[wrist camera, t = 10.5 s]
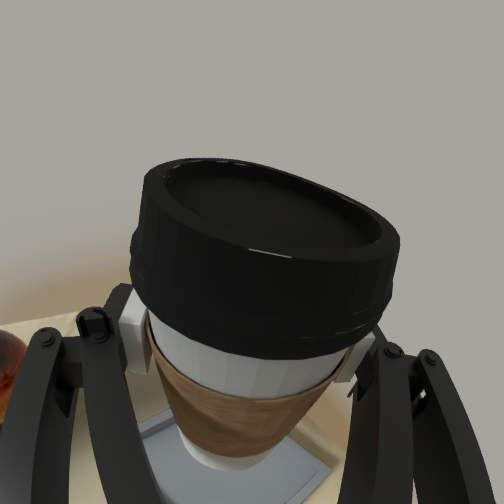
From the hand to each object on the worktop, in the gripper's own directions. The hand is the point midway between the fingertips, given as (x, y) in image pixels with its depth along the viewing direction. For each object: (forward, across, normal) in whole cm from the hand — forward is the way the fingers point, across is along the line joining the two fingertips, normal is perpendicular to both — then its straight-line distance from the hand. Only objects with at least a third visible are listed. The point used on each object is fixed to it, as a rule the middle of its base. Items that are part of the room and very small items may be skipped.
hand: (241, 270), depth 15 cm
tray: (-5, 0, -21) cm, 22 cm away
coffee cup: (-5, 0, -9) cm, 10 cm away
